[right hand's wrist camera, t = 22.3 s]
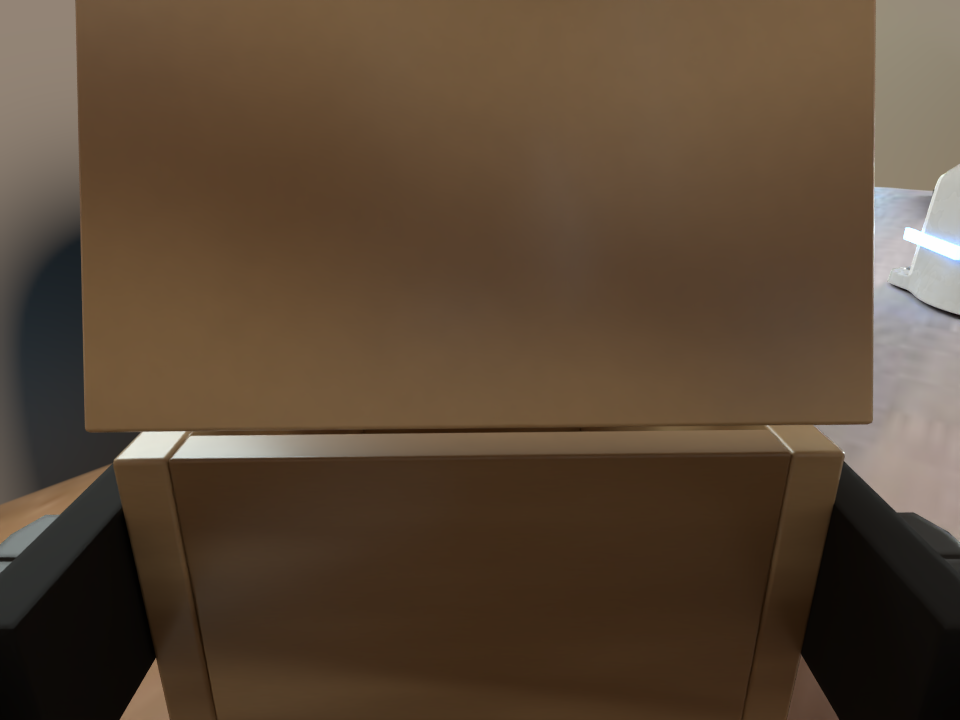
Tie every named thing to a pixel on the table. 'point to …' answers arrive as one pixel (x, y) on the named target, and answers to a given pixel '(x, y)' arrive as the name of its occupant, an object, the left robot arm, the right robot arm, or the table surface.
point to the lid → (476, 213)
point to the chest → (479, 570)
